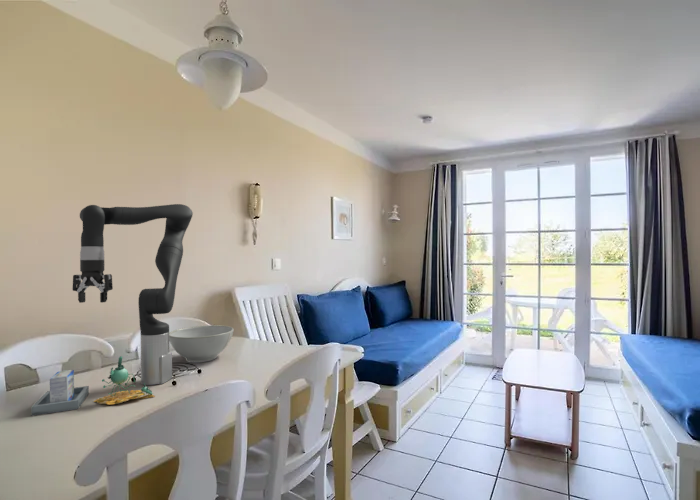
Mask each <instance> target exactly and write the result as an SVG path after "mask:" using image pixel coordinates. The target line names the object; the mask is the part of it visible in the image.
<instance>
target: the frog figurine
mask: <svg viewBox="0 0 700 500" xmlns="http://www.w3.org/2000/svg"><path fill="white" fill-rule="evenodd" d="M122 361H123V356H119V357H118V362H117V367H115V369H114V367H111V368H110V371H109V376H107V379H109V380H110V381H109V382H108V381H106V380H105V378H103V379H102V380H101V382H102V383H103V382H104V383H106V384H109V385H106V384H104V385H103V386H102V387H103V389H105V388H106V387H110V386H113V388H112V391H111V392H110V393H109V392H108V395H105V396H103V397H99V398H97V399H95V400H93V403H97V404H99V405H108V406H109V405H117V404H123V402H127V401H130V400H134V399H139V400H143V399H151V398H155V397H156V395H154V393H153V391H152V389H150V388H149V387H148V386H147V385H145V383H144V384H143V386H142V387H141V389H140V390H139V389H136V390H135V389H132V390H129V389H128V388H130V387H132V386H133V387H135V388H136V385H135V384H130V385H129V386H128V383H129V381H130V379H131V377H130V375H131V373H129V371H128V369H126V368H125V366H124V364H123V363H122ZM132 377H133V381H132V382H133V383H136V382H137V381H136V380H135V375H134V374H132ZM110 383H112V384H110ZM123 383H124V386H127V387H124V386H123V385H122V384H123ZM115 386H116V388H115ZM121 387H122V388H123V389H121ZM114 388H115V392H113V391H114ZM118 388H119V391H118V392H117V389H118Z"/></svg>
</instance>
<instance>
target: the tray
mask: <svg viewBox="0 0 700 500" xmlns="http://www.w3.org/2000/svg"><path fill="white" fill-rule="evenodd" d="M89 394H90V386H89V385H85V386H78V387H74V397H73V398H72V400H70V401H63V402H55V403H50V390H47V391H46V392H45V393H44V394H43V395H41V397H40V398H39V399H38V400H37V401H36V402H35V403H33V405H32V406H31V416H32V417H33V416H39V415H45V414H52V413H59V412H66V411H72V410H79V409H80V407H81V405H82V404H83V403H84V401H85V400H86V398H87V397H88V396H89Z"/></svg>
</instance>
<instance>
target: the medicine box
mask: <svg viewBox="0 0 700 500" xmlns="http://www.w3.org/2000/svg"><path fill="white" fill-rule="evenodd" d="M74 388H75V371H74V369H68V370H67V369H64V370H60V371H57V372H56V373H55V374H53V376H52V377H50V378H49V391H50V403H55V402H63V401H70V400H72V398H73V397H74Z"/></svg>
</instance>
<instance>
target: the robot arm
mask: <svg viewBox="0 0 700 500" xmlns="http://www.w3.org/2000/svg"><path fill="white" fill-rule="evenodd" d="M193 214H194V212H193V210H192V209H191V208H190V207H189V206H187V205H186V204H180V203H175V204H164V205H155V206H154V205H153V206H144V207H141V206H140V207H134V206H130V207H129V206H111V207H104V206H103V207H102V206H99V205H96V204H89V205H87V206H85V207H84V208H82V209H81V210H80V212H79V219H80V220H81V222H82V232H81V236H80V252H79V253H80V254H79V270H80V273H81V274H73V275H72V291H73V292H77V300H78V302H79V303H80V304H82V303H85V302H86V292H85V291H87V289H88V288H89V287H96V288H97V289H98V290H99V300H100V303H106V302H107V301H108V292H109V291H112V290H113V287H114V286H113V275H112V274H111V273H107V274H104V272H105V249H104V241H105V240H104V229H105V225H119V226H121V225H122V226H124V225H125V226H133V225H140V224H145V223H147V222H152V221H154V220H155V221H156V220H159V219H166V220H165V225H164V226H165V229H164V235H163V238H162V240H161V242H160V243H159V246H158V248H157V252H156V255H155V259H154V260H155V261H154V262H155V266H156V268H157V270H158V271H159V273H160V275H161V276H162V278H163V280H164V286H163V287H162V288H158V287H157V288H144V289H141V291H140V292H139V294H138V316H139V317H138V318H139V330H140V384H142V385H144V383H145V386H151V385H152V386H153V385H158V384H159V385H160V384H162V385H163V384H164V383H166V382H168V381H170V380H172V379H173V353H172V351H171V352H170V341H169V333H170V325H169V323H167V322H164V321H160V320H159V319H156V317H155V316H154V315H162V314H163V315H165V314H169V313H170V312H171V311H172V309H173V307H174V303H175V295H176V288H177V281H178V276H179V272H180V267H181V265H182V264H181V263H182V261H183V260H182V258H183V256H184V255H183V254H184V246H183V240H184V236H185V234H186V231H187V230H188V228H189V225H190V223H191V221H192V218H193Z"/></svg>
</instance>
